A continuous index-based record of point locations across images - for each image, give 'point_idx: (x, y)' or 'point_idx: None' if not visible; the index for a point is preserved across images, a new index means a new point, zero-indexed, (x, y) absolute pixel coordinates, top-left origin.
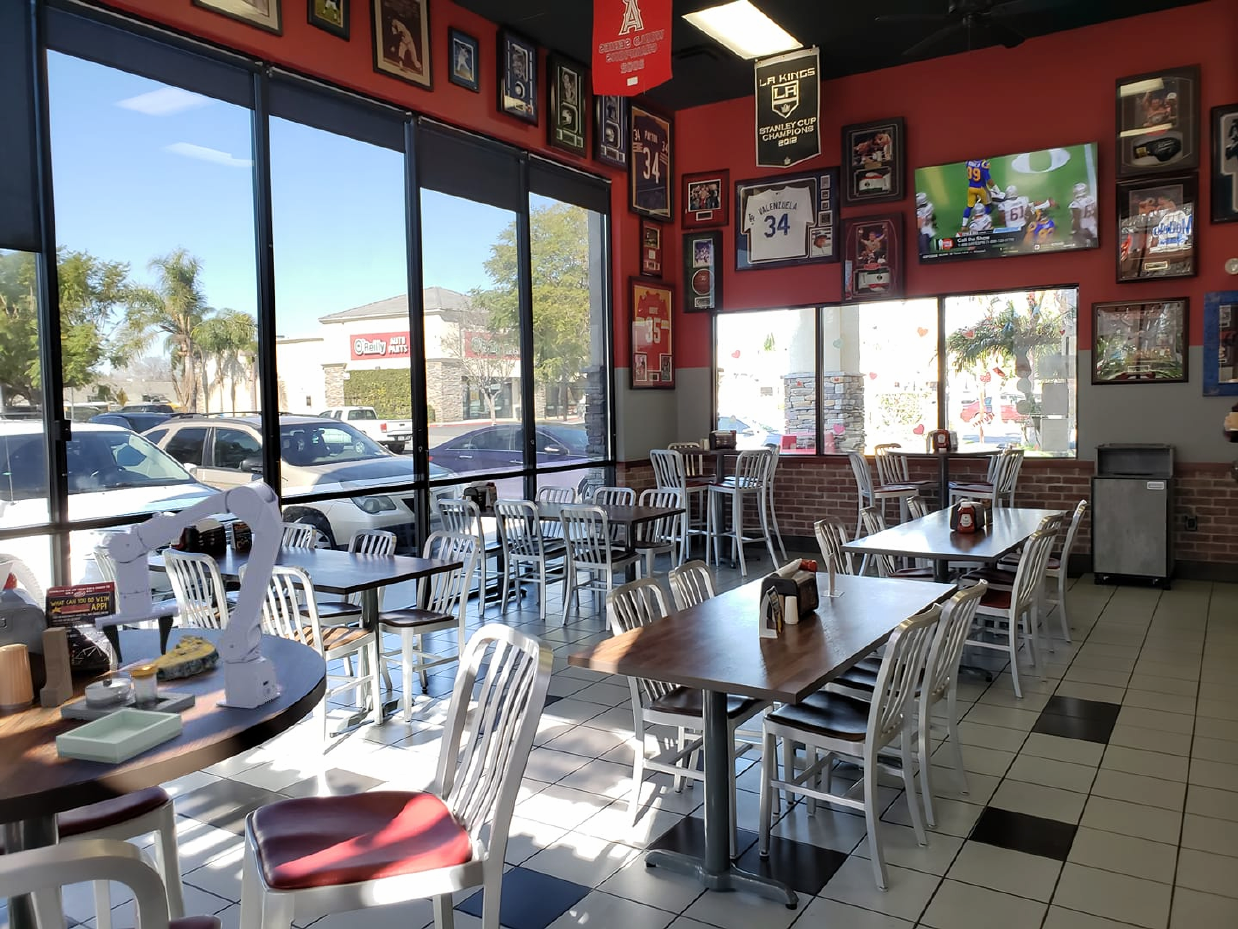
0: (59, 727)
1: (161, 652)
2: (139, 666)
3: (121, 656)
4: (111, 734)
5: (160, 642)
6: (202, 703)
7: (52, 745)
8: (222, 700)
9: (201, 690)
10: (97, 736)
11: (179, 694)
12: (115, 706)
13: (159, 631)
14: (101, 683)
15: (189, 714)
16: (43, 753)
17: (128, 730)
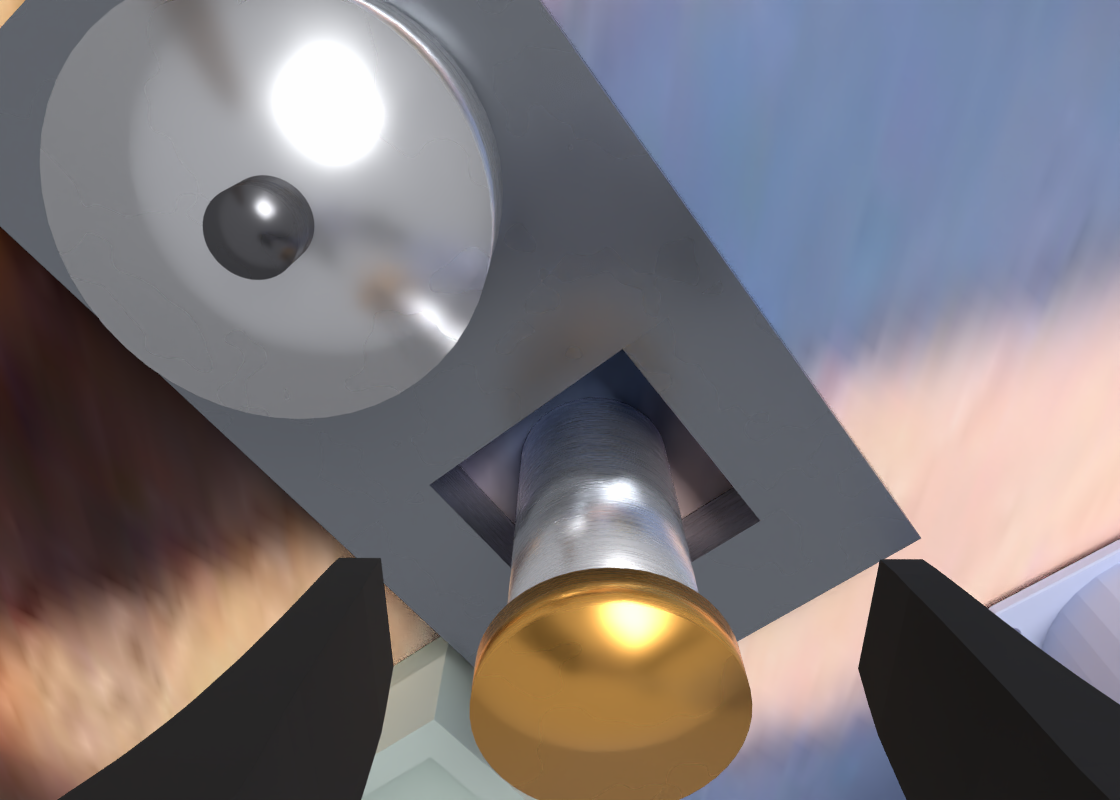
0: (26, 371)
1: (875, 657)
2: (579, 629)
3: (372, 754)
4: (377, 796)
5: (953, 678)
6: (936, 500)
7: (78, 667)
8: (1040, 601)
9: (1058, 161)
10: None
11: (837, 460)
12: (376, 433)
13: (1082, 774)
14: (192, 110)
15: (804, 647)
16: (63, 747)
17: (461, 793)
